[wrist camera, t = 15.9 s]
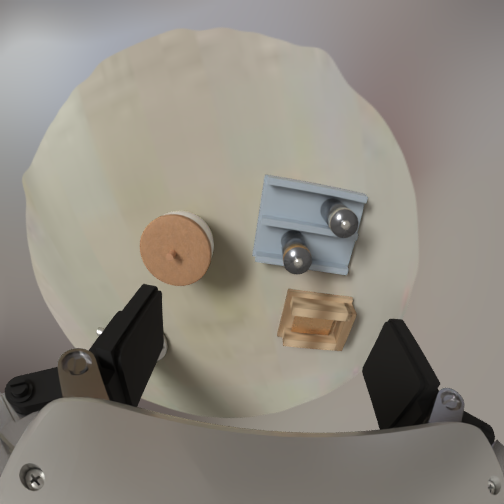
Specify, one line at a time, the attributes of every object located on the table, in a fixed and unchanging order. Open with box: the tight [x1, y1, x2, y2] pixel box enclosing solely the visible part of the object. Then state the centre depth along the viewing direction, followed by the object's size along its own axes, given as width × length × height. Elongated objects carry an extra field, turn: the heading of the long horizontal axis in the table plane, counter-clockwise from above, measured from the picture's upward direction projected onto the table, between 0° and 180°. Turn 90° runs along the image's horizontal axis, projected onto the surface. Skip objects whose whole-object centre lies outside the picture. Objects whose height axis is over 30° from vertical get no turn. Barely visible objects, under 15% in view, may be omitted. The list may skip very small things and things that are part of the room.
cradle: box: [277, 289, 357, 351], centre depth 47 cm, size 12×10×4 cm
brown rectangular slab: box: [291, 316, 334, 335], centre depth 47 cm, size 7×5×1 cm, turn 82°
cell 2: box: [320, 198, 359, 238], centre depth 37 cm, size 4×4×8 cm
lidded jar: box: [140, 211, 214, 286], centre depth 40 cm, size 11×11×9 cm
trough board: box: [252, 175, 368, 275], centre depth 42 cm, size 16×13×3 cm
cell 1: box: [281, 230, 312, 274], centre depth 39 cm, size 4×4×8 cm
